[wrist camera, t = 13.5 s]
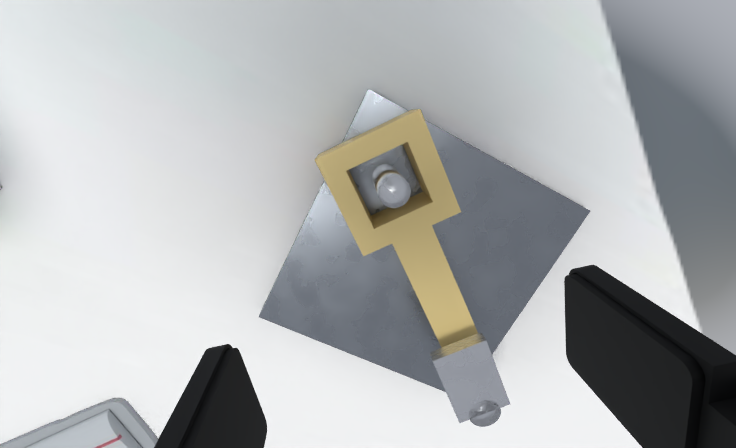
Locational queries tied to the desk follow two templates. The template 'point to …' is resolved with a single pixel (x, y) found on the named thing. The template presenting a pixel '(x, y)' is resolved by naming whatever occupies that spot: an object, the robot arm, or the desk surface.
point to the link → (405, 217)
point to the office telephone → (92, 430)
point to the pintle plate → (391, 284)
